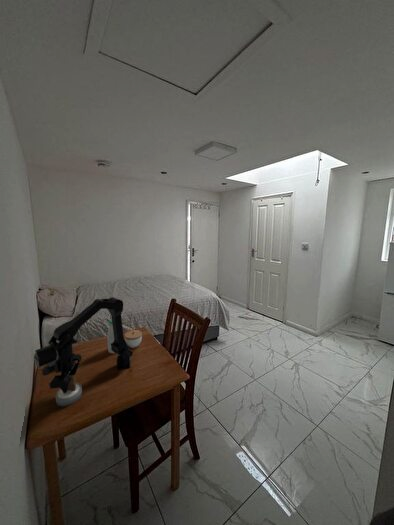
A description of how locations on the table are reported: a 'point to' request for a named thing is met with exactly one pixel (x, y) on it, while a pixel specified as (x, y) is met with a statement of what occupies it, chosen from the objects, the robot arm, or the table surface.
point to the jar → (68, 396)
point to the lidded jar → (133, 338)
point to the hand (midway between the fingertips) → (68, 386)
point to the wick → (72, 383)
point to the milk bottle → (110, 336)
